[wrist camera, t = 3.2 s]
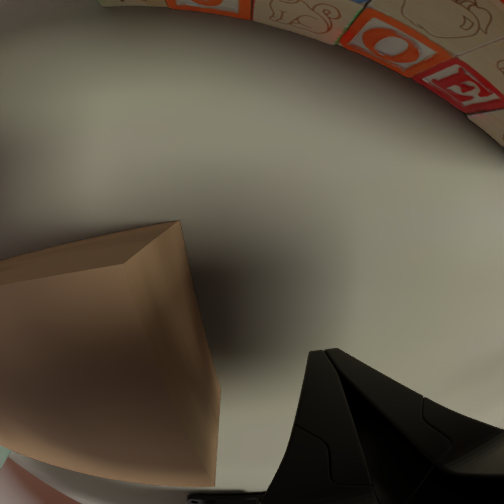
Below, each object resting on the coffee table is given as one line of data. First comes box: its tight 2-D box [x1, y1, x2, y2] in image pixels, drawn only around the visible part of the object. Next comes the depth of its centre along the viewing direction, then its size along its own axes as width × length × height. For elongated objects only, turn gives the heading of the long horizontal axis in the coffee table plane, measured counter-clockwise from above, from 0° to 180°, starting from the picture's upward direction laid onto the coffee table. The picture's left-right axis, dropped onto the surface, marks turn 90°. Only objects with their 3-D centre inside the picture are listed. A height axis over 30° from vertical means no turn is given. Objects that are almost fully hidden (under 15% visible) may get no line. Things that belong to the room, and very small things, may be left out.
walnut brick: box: [0, 220, 221, 487], centre depth 8 cm, size 7×10×5 cm
